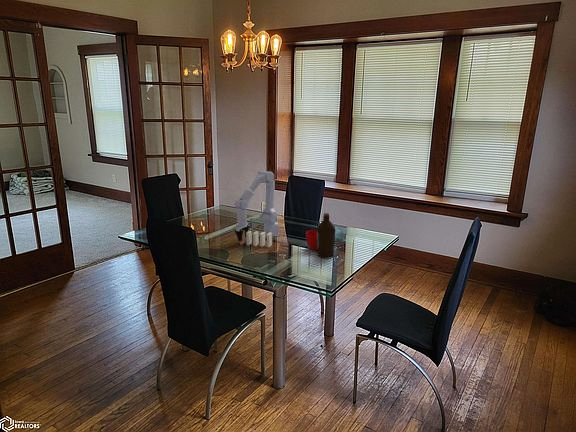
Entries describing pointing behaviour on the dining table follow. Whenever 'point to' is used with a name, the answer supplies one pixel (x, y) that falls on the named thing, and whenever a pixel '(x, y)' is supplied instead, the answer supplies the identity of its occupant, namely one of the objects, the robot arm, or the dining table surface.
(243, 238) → the terracotta domino
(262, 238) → the ivory domino
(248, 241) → the ivory domino
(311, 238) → the ceramic cup
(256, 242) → the ivory domino
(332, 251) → the olive oil
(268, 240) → the ivory domino
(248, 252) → the dining table surface
